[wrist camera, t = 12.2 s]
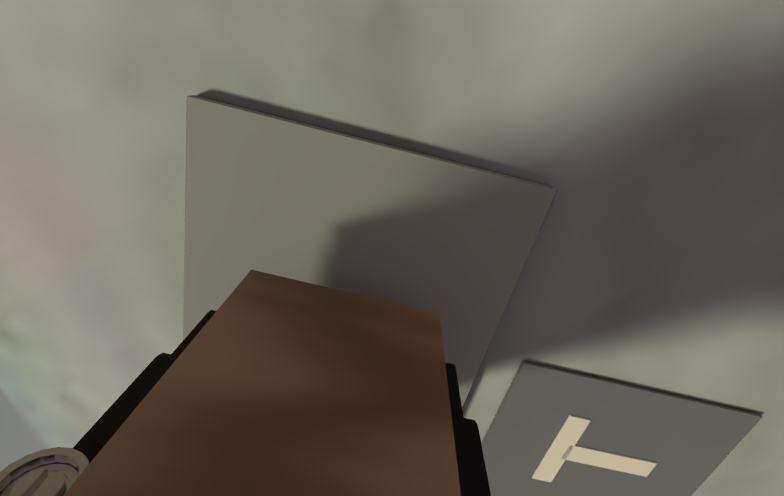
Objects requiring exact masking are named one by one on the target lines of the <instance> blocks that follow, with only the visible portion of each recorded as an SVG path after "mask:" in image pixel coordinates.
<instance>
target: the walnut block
mask: <svg viewBox="0 0 784 496" xmlns="http://www.w3.org/2000/svg"><path fill="white" fill-rule="evenodd" d="M63 496H461V491H460V483H459V475H458V466H457V458H456V449H455V441H454V433H453V424H452V416H451V407H450V399H449V391H448V382H447V374H446V366H445V357H444V349H443V340H442V332H441V324H440V315H439V313H436V312H432V311H428V310H423V309H419V308H415V307H411V306H406V305H402V304H398V303H393V302H389V301H385V300H380V299H376V298H372V297H367V296H363V295H359V294H355V293H350V292H346V291H342V290H337V289H333V288H329V287H324V286H320V285H316V284H311V283H307V282H303V281H299V280H294V279H290V278H286V277H281V276H277V275H273V274H268V273H264V272H260V271H255V270H250V272H249V273H248V274H247V275H246V276H245V278H244V279H243V280H242V281H241V282H240V284H239V285H238V286H237V287H236V288H235V290H234V291H233V292H232V293H231V294H230V296H229V297H228V298H227V299H226V300H225V302H224V303H223V304H222V305H221V306H220V308H219V309H218V310H217V311H216V312H215V314H214V315H213V316H212V317H211V318H210V320H209V321H208V322H207V323H206V324H205V326H204V327H203V328H202V329H201V330H200V332H199V333H198V334H197V335H196V336H195V338H194V339H193V340H192V341H191V342H190V344H189V345H188V346H187V347H186V348H185V350H184V351H183V352H182V353H181V354H180V356H179V357H178V358H177V359H176V360H175V362H174V363H173V364H172V365H171V366H170V368H169V369H168V370H167V371H166V372H165V374H164V375H163V376H162V377H161V378H160V380H159V381H158V382H157V383H156V384H155V386H154V387H153V388H152V389H151V390H150V392H149V393H148V394H147V395H146V396H145V398H144V399H143V400H142V401H141V402H140V404H139V405H138V406H137V407H136V408H135V410H134V411H133V412H132V413H131V414H130V416H129V417H128V418H127V419H126V420H125V422H124V423H123V424H122V425H121V426H120V428H119V429H118V430H117V431H116V432H115V434H114V435H113V436H112V437H111V438H110V440H109V441H108V442H107V443H106V444H105V446H104V447H103V448H102V449H101V450H100V452H99V453H98V454H97V455H96V456H95V458H94V459H93V460H92V461H91V462H90V464H89V465H88V466H87V467H86V468H85V470H84V471H83V472H82V473H81V474H80V476H79V477H78V478H77V479H76V480H75V482H74V483H73V484H72V485H71V486H70V488H69V489H68V490H67V491H66V492H65V494H64V495H63Z"/></svg>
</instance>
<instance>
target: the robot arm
mask: <svg viewBox="0 0 784 496" xmlns="http://www.w3.org/2000/svg"><path fill="white" fill-rule="evenodd" d="M215 312H216V311H215V310H210V311H209V312H208V313H207V314H206V315H205V316H204V317H203V318H202V320H201V321H200V322H199V323H198V324H197V325H196V326H195V328H194V329H193V330H192V331H191V332H190V333H189V335H188V336H187V337H186V338H185V339H184V340H183V342H182V343H181V344H180V345H179V346H178V347H177V348H176V350H175V351H174V352H173V353H172V354H166V353H162V354H160V355H158V356H157V357H156V358H155V359H154V360H153V361H152V362H151V363H150V364H149V365H148V366H147V367H146V368H145V370H144V371H143V372H142V373H141V374H140V375H139V376H138V377H137V378H136V379H135V380H134V382H133V383H132V384H131V385H130V386H129V387H128V388H127V389H126V390H125V391H124V393H123V394H122V395H121V396H120V397H119V398H118V399H117V400H116V401H115V402H114V404H113V405H112V406H111V407H110V408H109V409H108V410H107V411H106V412H105V413H104V415H103V416H102V417H101V418H100V419H99V420H98V421H97V422H96V423H95V424H94V425H93V427H92V428H91V429H90V430H89V431H88V432H87V433H86V434H85V435H84V436H83V438H82V439H81V440H80V441H79V442H78V443H77V444H76V445H75V446H74V447H73V448H63V447H57V448H50V449H43V450H40V451H38V452H35V453H32V454H29V455H26V456H24V457H23V458H21V459H19V460H17V461H15V462H13V463H11V464H10V465H8V466H7V467H6V468H5V469H3V470H2V471H1V472H0V496H63V495H64V494H65V492H66V491H67V490H68V489H69V488H70V486H71V485H72V484H73V483H74V482H75V480H76V479H77V478H78V477H79V476H80V474H81V473H82V472H83V471H84V470H85V468H86V467H87V466H88V465H89V464H90V462H91V461H92V460H93V459H94V458H95V456H96V455H97V454H98V453H99V452H100V450H101V449H102V448H103V447H104V446H105V444H106V443H107V442H108V441H109V440H110V438H111V437H112V436H113V435H114V434H115V432H116V431H117V430H118V429H119V428H120V426H121V425H122V424H123V423H124V422H125V420H126V419H127V418H128V417H129V416H130V414H131V413H132V412H133V411H134V410H135V408H136V407H137V406H138V405H139V404H140V402H141V401H142V400H143V399H144V398H145V396H146V395H147V394H148V393H149V392H150V390H151V389H152V388H153V387H154V386H155V384H156V383H157V382H158V381H159V380H160V378H161V377H162V376H163V375H164V374H165V372H166V371H167V370H168V369H169V368H170V366H171V365H172V364H173V363H174V362H175V360H176V359H177V358H178V357H179V356H180V354H181V353H182V352H183V351H184V350H185V348H186V347H187V346H188V345H189V344H190V342H191V341H192V340H193V339H194V338H195V336H196V335H197V334H198V333H199V332H200V330H201V329H202V328H203V327H204V326H205V324H206V323H207V322H208V321H209V320H210V318H211V317H212V316H213V315H214V314H215ZM445 366H446V374H447V382H448V391H449V399H450V407H451V416H452V424H453V433H454V441H455V449H456V458H457V466H458V475H459V483H460V491H461V496H491V492H490V487H489V482H488V477H487V471H486V466H485V461H484V456H483V450H482V445H481V440H480V435H479V429H478V426H477V423H476V422H475V420H471V419H466V418H463V411H462V405H461V398H460V392H459V385H458V379H457V372H456V367H455V365H454V364H451V363H446V362H445Z"/></svg>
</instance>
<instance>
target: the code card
mask: <svg viewBox="0 0 784 496" xmlns="http://www.w3.org/2000/svg"><path fill="white" fill-rule="evenodd" d="M761 418H762V416H761V415H760V414H756V413H751V412H747V411H743V410H738V409H734V408H729V407H725V406H720V405H716V404H711V403H707V402H703V401H698V400H694V399H689V398H685V397H680V396H676V395H672V394H667V393H663V392H658V391H654V390H649V389H645V388H641V387H636V386H632V385H627V384H623V383H618V382H614V381H610V380H605V379H601V378H596V377H592V376H587V375H583V374H579V373H574V372H570V371H565V370H561V369H556V368H552V367H548V366H543V365H539V364H534V363H530V362H525V361H522V363H521V365H520V367H519V369H518V371H517V373H516V375H515V377H514V379H513V381H512V383H511V385H510V387H509V389H508V391H507V393H506V395H505V397H504V399H503V401H502V403H501V405H500V408H499V410H498V412H497V414H496V416H495V418H494V420H493V422H492V424H491V426H490V428H489V430H488V432H487V434H486V436H485V438H484V440H483V442H482V444H481V445H482V450H483V456H484V461H485V466H486V471H487V477H488V482H489V487H490V492H491V496H691V495H692V494H693V493H694V492H695V491H696V490H697V489H698V487H699V486H700V485H701V484H702V483H703V482H704V481H705V480H706V479H707V477H708V476H709V475H710V474H711V473H712V472H713V471H714V470H715V469H716V468H717V466H718V465H719V464H720V463H721V462H722V461H723V460H724V459H725V458H726V457H727V455H728V454H729V453H730V452H731V451H732V450H733V449H734V448H735V447H736V446H737V444H738V443H739V442H740V441H741V440H742V439H743V438H744V437H745V436H746V435H747V433H748V432H749V431H750V430H751V429H752V428H753V427H754V426H755V425H756V423H757V422H758V421H759V420H760V419H761Z"/></svg>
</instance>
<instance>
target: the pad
mask: <svg viewBox="0 0 784 496" xmlns="http://www.w3.org/2000/svg"><path fill="white" fill-rule="evenodd" d="M556 192H557V190H556V189H555V188H553V187H552V186H548V185H544V184H540V183H536V182H532V181H528V180H524V179H520V178H516V177H513V176H509V175H505V174H501V173H497V172H493V171H489V170H485V169H481V168H477V167H473V166H469V165H466V164H462V163H458V162H454V161H450V160H446V159H442V158H438V157H434V156H430V155H426V154H422V153H419V152H415V151H411V150H407V149H403V148H399V147H395V146H391V145H387V144H383V143H379V142H375V141H372V140H368V139H364V138H360V137H356V136H352V135H348V134H344V133H340V132H336V131H332V130H328V129H325V128H321V127H317V126H313V125H309V124H305V123H301V122H297V121H293V120H289V119H285V118H281V117H278V116H274V115H270V114H266V113H262V112H258V111H254V110H250V109H246V108H242V107H238V106H234V105H231V104H227V103H223V102H219V101H215V100H211V99H207V98H203V97H199V96H195V95H193V96H187V112H186V185H185V259H184V332H183V340H184V339H185V338H186V337H187V336H188V335H189V333H190V332H191V331H192V330H193V329H194V328H195V326H196V325H197V324H198V323H199V322H200V321H201V320H202V318H203V317H204V316H205V315H206V314H207V313H208V312H209V311H210V310H215V311H217V310H218V309H219V308H220V306H221V305H222V304H223V303H224V302H225V300H226V299H227V298H228V297H229V296H230V294H231V293H232V292H233V291H234V290H235V288H236V287H237V286H238V285H239V284H240V282H241V281H242V280H243V279H244V278H245V276H246V275H247V274H248V273H249V272H250V270H255V271H260V272H264V273H268V274H273V275H277V276H281V277H286V278H290V279H294V280H299V281H303V282H307V283H311V284H316V285H320V286H324V287H329V288H333V289H337V290H342V291H346V292H350V293H355V294H359V295H363V296H367V297H372V298H376V299H380V300H385V301H389V302H393V303H398V304H402V305H406V306H411V307H415V308H419V309H423V310H428V311H432V312H436V313H439V315H440V324H441V332H442V340H443V349H444V357H445V362H446V363H451V364H454V365H455V367H456V372H457V379H458V385H459V392H460V398H461V405H462V407H463V405H464V402H465V400H466V398H467V395H468V393H469V391H470V389H471V386H472V384H473V382H474V379H475V377H476V375H477V373H478V370H479V368H480V366H481V363H482V361H483V359H484V357H485V354H486V352H487V350H488V347H489V345H490V343H491V341H492V338H493V336H494V334H495V332H496V329H497V327H498V325H499V322H500V320H501V318H502V316H503V313H504V311H505V309H506V306H507V304H508V302H509V300H510V297H511V295H512V293H513V290H514V288H515V286H516V284H517V281H518V279H519V277H520V274H521V272H522V270H523V268H524V265H525V263H526V261H527V259H528V256H529V254H530V252H531V249H532V247H533V245H534V243H535V240H536V238H537V236H538V233H539V231H540V229H541V227H542V224H543V222H544V220H545V217H546V215H547V213H548V211H549V208H550V206H551V204H552V201H553V199H554V197H555V195H556Z"/></svg>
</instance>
